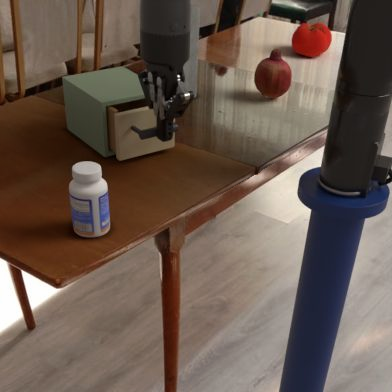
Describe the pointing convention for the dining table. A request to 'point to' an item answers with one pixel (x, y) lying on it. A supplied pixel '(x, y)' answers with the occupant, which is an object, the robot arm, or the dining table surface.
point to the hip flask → (193, 52)
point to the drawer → (134, 130)
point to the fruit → (273, 75)
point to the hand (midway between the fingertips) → (164, 139)
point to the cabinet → (97, 102)
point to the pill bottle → (89, 200)
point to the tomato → (311, 39)
